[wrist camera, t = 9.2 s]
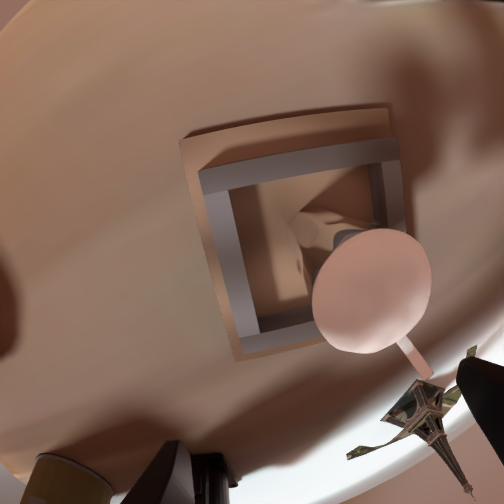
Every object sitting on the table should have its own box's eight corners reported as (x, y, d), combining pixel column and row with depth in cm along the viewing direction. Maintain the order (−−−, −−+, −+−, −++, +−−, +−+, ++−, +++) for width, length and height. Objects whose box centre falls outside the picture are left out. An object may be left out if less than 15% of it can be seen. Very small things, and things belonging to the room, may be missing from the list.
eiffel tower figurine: (343, 457, 27) (380, 558, 14) (335, 401, 24) (389, 534, 11) (460, 404, 27) (517, 480, 14) (474, 339, 24) (558, 421, 11)
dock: (398, 312, 21) (415, 329, 18) (235, 354, 21) (237, 379, 18) (381, 108, 16) (403, 104, 14) (180, 141, 16) (172, 138, 14)
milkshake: (309, 296, 19) (376, 415, 9) (258, 226, 17) (300, 318, 8) (369, 253, 18) (475, 338, 9) (325, 179, 17) (438, 214, 7)
